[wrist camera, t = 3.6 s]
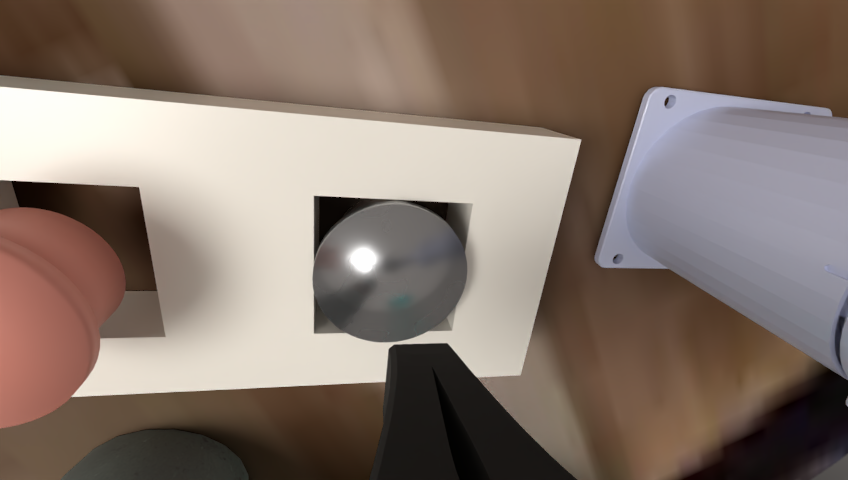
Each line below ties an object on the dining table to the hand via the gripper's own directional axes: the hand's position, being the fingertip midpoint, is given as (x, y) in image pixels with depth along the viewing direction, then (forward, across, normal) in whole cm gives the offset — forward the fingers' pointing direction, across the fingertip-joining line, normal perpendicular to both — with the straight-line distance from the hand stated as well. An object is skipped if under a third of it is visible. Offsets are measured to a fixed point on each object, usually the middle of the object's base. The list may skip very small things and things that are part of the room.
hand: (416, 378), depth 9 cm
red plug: (+5, +10, 0) cm, 11 cm away
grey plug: (+8, 0, 0) cm, 8 cm away
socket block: (+8, +5, 0) cm, 10 cm away
